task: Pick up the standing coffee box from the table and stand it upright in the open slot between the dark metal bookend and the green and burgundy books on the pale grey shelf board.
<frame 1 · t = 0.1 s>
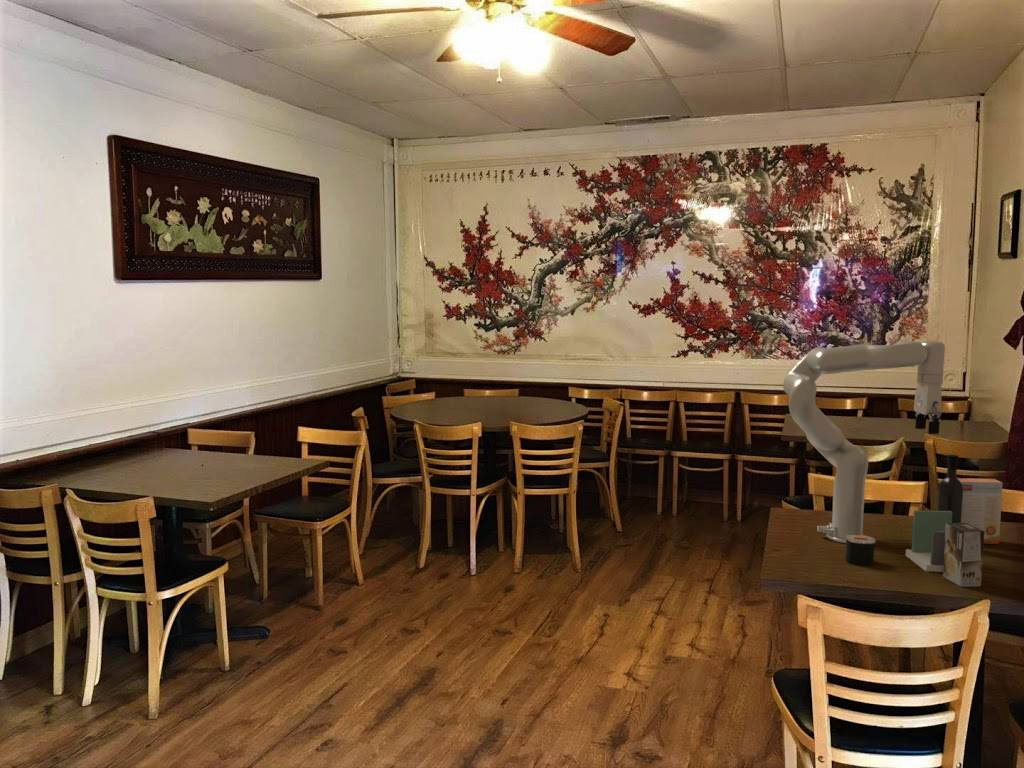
hand: (926, 431, 276), 37 cm above the table, tool pointing down, fingers open, 9 cm apart
cracker box: (972, 542, 280), on the table
sushi: (859, 562, 258), on the table
coffee box: (961, 582, 241), on the table
shelf: (937, 563, 256), on the table
wine bottle: (947, 546, 274), on the table
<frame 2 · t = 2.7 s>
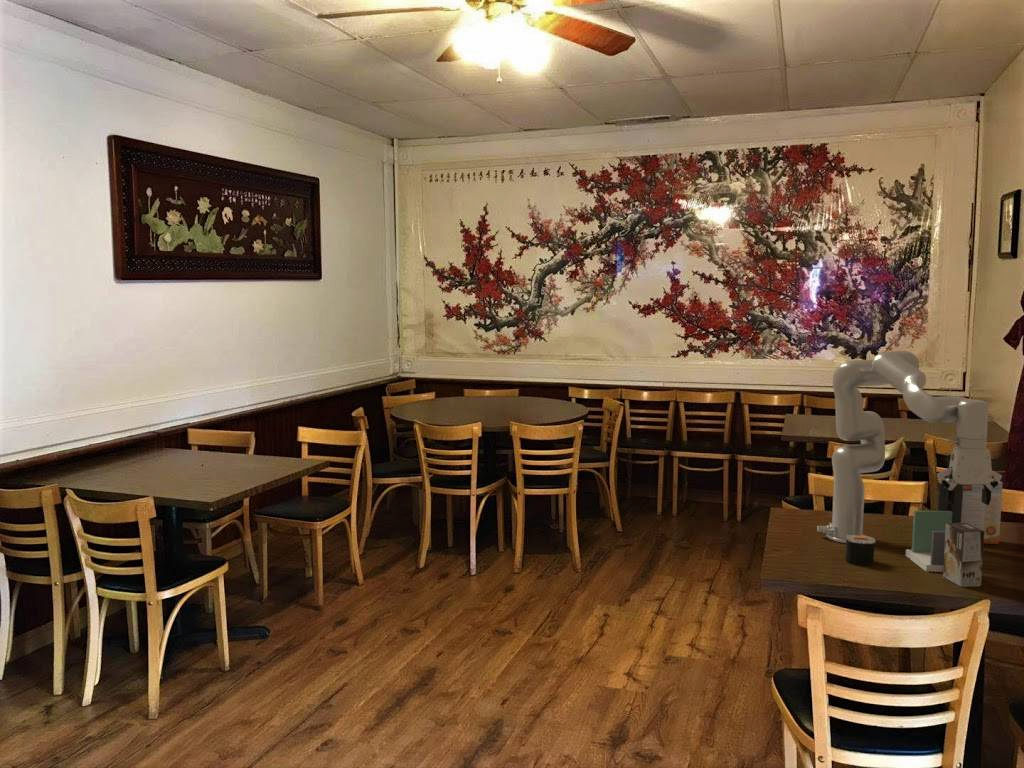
hand: (967, 503, 238), 23 cm above the table, tool pointing down, fingers open, 9 cm apart
nothing on the table moved.
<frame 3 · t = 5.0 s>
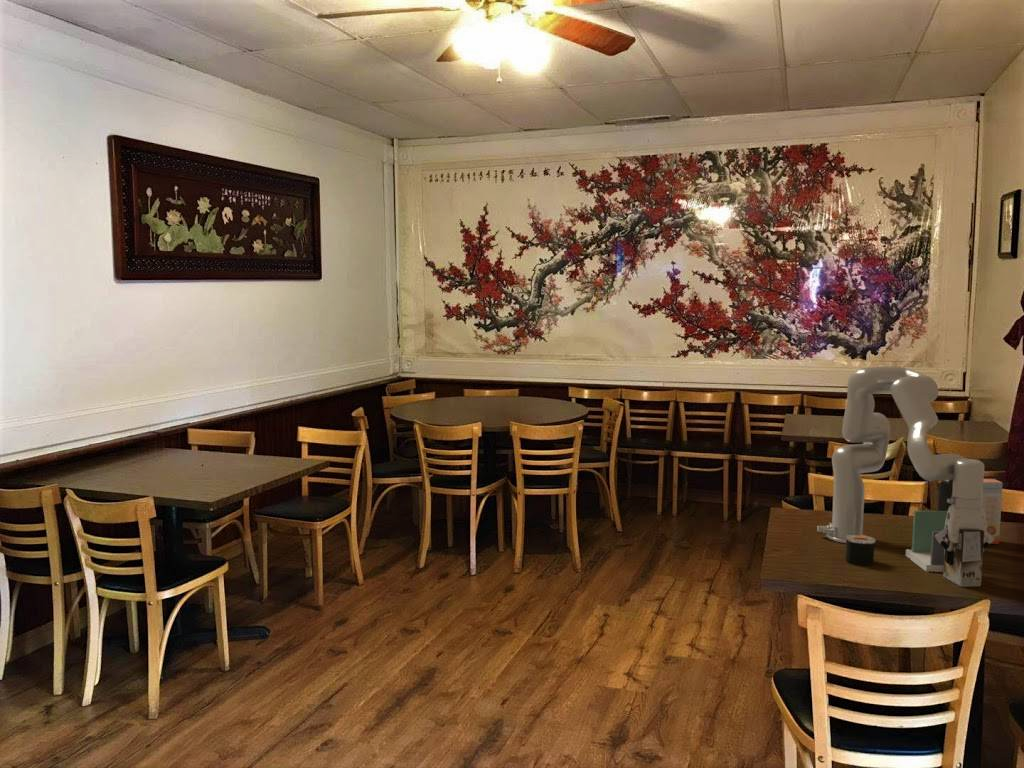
hand: (962, 563, 240), 5 cm above the table, tool pointing down, fingers closed on coffee box, 6 cm apart
coffee box: (961, 582, 241), on the table, touching gripper
everything else where it was.
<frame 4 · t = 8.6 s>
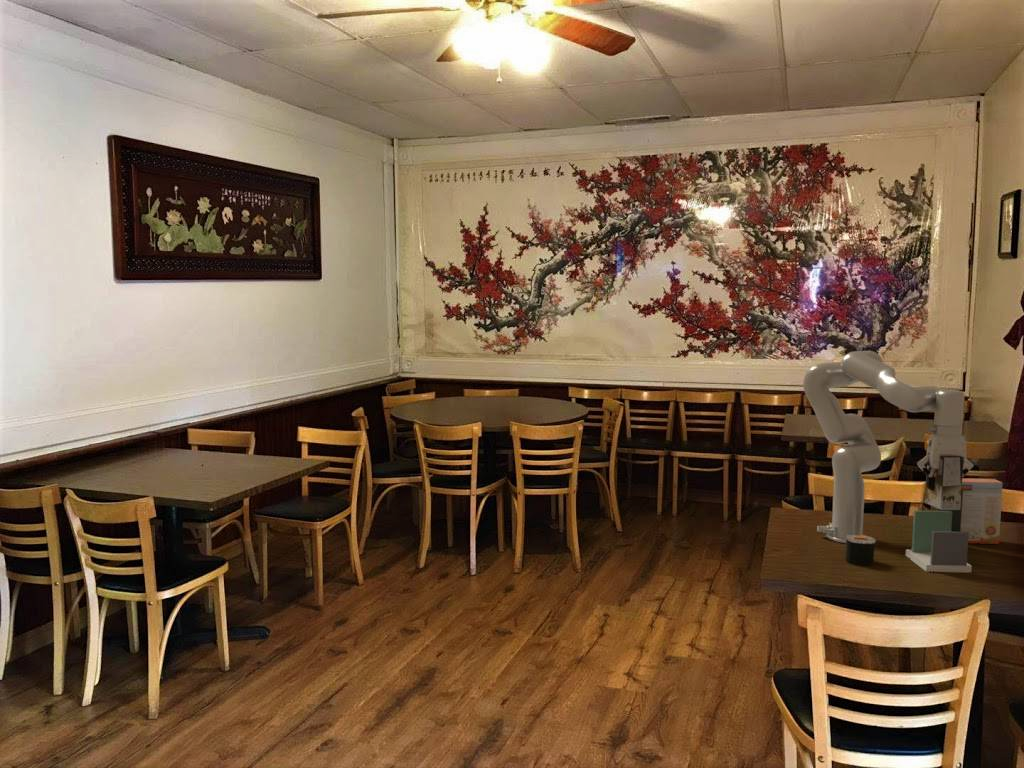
hand: (943, 489, 253), 23 cm above the table, tool pointing down, fingers closed on coffee box, 6 cm apart
coffee box: (942, 507, 253), point 18 cm above the table, touching gripper
everything else where it was.
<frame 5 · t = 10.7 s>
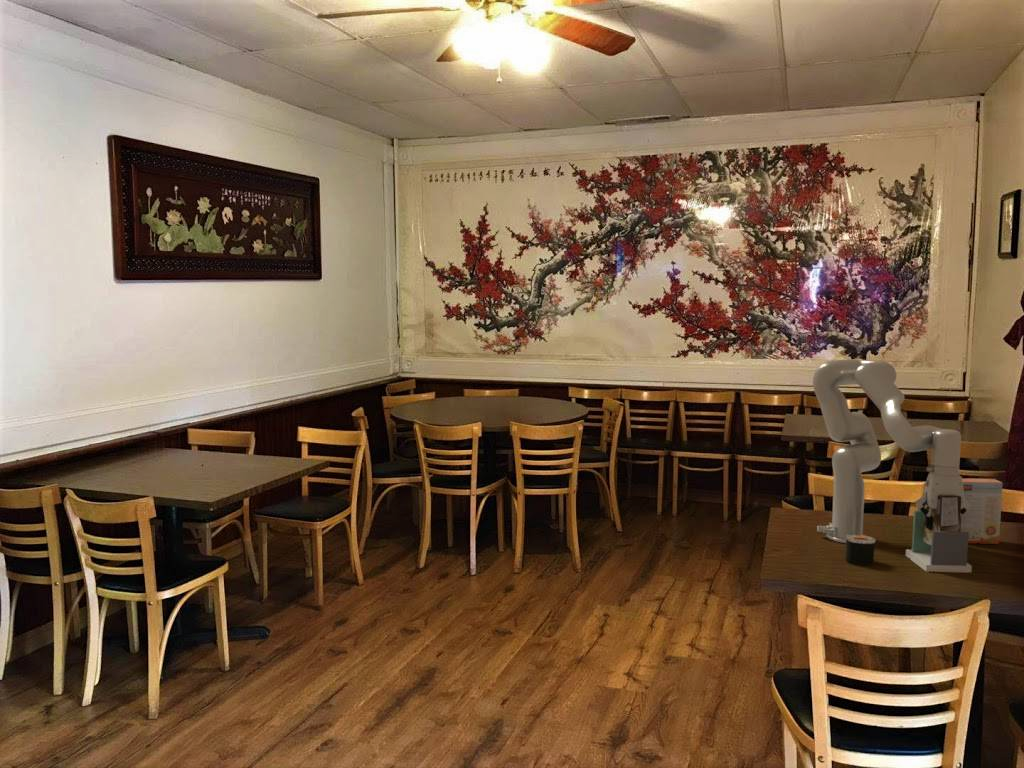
hand: (941, 528, 254), 11 cm above the table, tool pointing down, fingers closed on coffee box, 6 cm apart
coffee box: (940, 546, 255), point 6 cm above the table, touching gripper
everything else where it was.
when the fingers open (9 cm above the table, at t = 12.5 s): coffee box drops 2 cm, resting on shelf.
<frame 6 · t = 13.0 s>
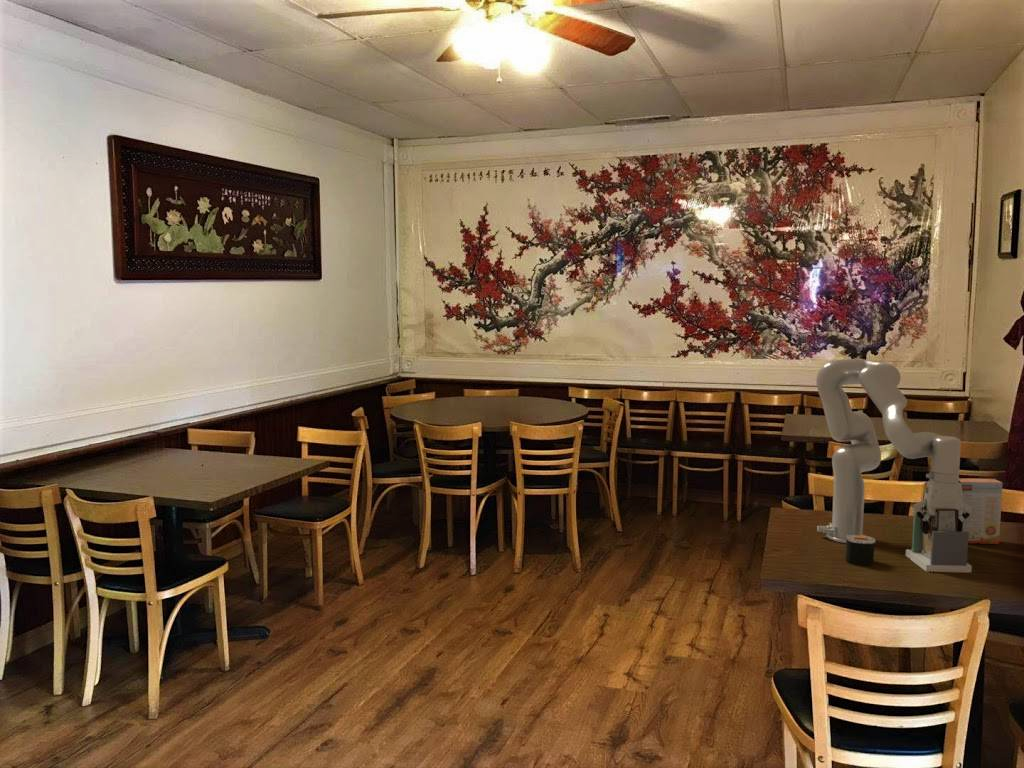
hand: (940, 533, 254), 10 cm above the table, tool pointing down, fingers open, 9 cm apart
coffee box: (938, 558, 255), point 2 cm above the table, touching shelf
everything else where it was.
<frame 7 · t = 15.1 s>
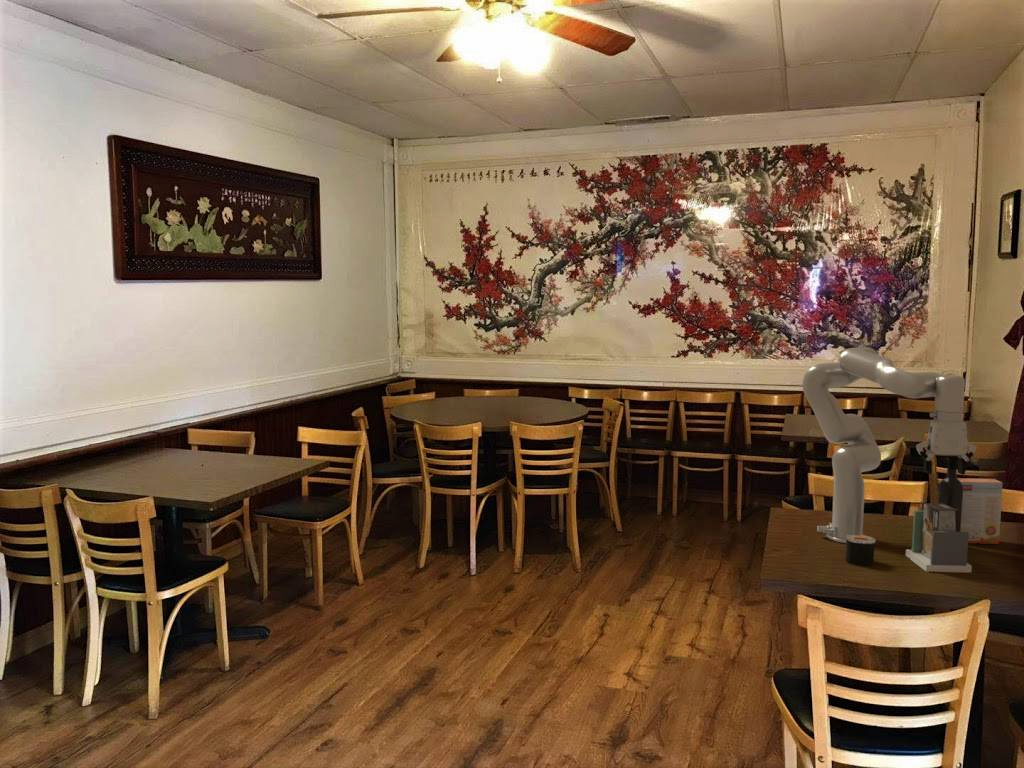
hand: (944, 473, 252), 28 cm above the table, tool pointing down, fingers open, 9 cm apart
nothing on the table moved.
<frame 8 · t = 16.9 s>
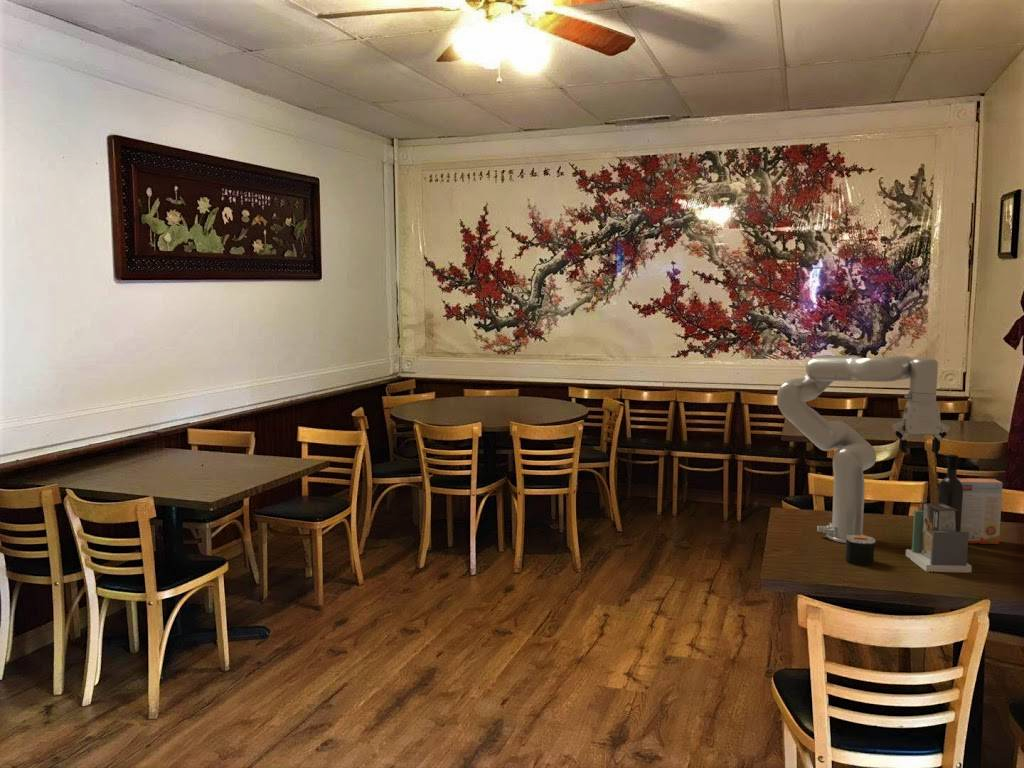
hand: (919, 452, 263), 32 cm above the table, tool pointing down, fingers open, 9 cm apart
nothing on the table moved.
at the end: coffee box 0.3 cm from the target spot on the shelf, point 1.8 cm above the shelf's base; coffee box tilted 0°; the gripper is holding nothing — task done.
